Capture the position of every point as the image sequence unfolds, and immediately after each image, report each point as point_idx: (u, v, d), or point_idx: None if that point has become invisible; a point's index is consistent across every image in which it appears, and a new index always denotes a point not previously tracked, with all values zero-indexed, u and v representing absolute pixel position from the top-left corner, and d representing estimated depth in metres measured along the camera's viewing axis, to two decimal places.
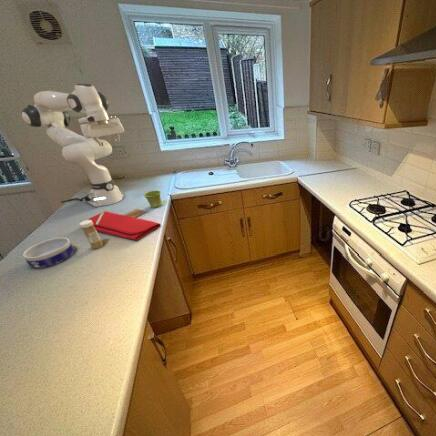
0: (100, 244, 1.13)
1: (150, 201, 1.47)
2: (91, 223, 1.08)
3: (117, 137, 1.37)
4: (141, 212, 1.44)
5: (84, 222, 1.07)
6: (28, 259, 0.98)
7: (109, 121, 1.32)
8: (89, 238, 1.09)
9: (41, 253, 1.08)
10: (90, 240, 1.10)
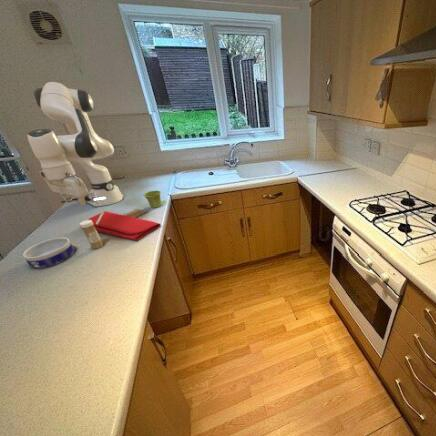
0: (100, 244, 1.13)
1: (150, 201, 1.47)
2: (91, 223, 1.08)
3: None
4: (141, 212, 1.44)
5: (84, 222, 1.07)
6: (28, 259, 0.98)
7: (63, 180, 0.95)
8: (89, 238, 1.09)
9: (41, 253, 1.08)
10: (90, 240, 1.10)
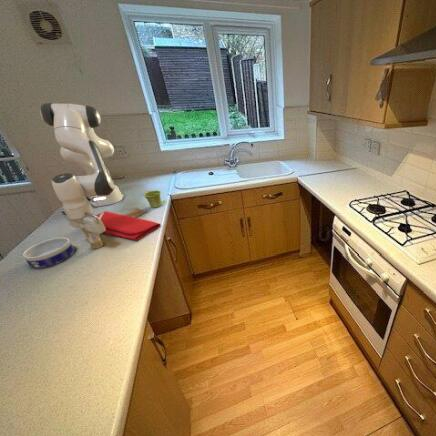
0: (100, 244, 1.13)
1: (150, 201, 1.47)
2: None
3: None
4: (141, 212, 1.44)
5: None
6: (28, 259, 0.98)
7: (83, 219, 1.03)
8: (89, 238, 1.09)
9: (41, 253, 1.08)
10: (90, 240, 1.10)
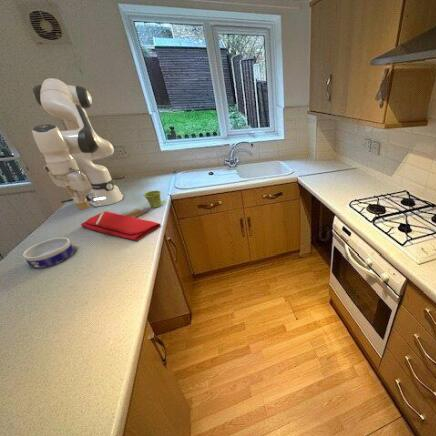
0: (86, 205, 1.07)
1: (150, 201, 1.47)
2: None
3: None
4: (141, 212, 1.44)
5: None
6: (28, 259, 0.98)
7: (67, 175, 0.97)
8: (74, 198, 1.03)
9: (41, 253, 1.08)
10: (75, 200, 1.03)
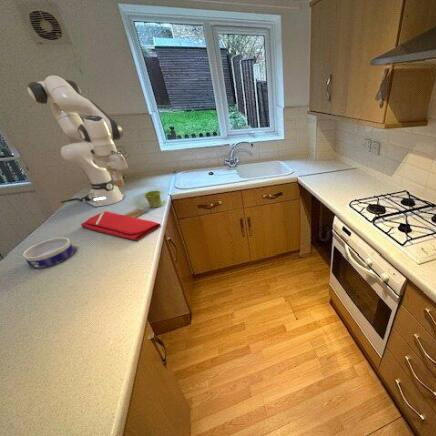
0: (122, 183, 1.31)
1: (150, 201, 1.47)
2: None
3: None
4: (141, 212, 1.44)
5: None
6: (28, 259, 0.98)
7: (109, 156, 1.21)
8: (113, 176, 1.27)
9: (41, 253, 1.08)
10: (114, 177, 1.27)
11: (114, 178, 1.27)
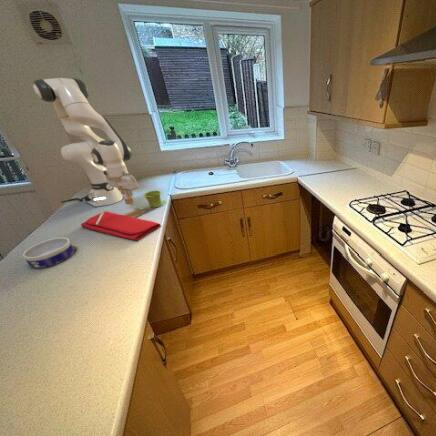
0: (132, 201, 1.38)
1: (150, 201, 1.47)
2: None
3: None
4: (141, 212, 1.44)
5: None
6: (28, 259, 0.98)
7: (121, 177, 1.29)
8: (124, 195, 1.35)
9: (41, 253, 1.08)
10: (125, 196, 1.35)
11: (125, 197, 1.35)
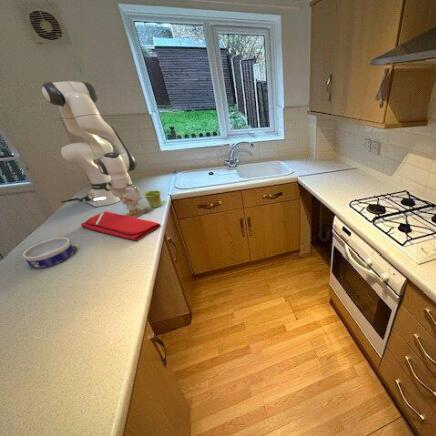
0: (136, 211, 1.42)
1: (150, 201, 1.47)
2: None
3: None
4: (141, 212, 1.44)
5: None
6: (28, 259, 0.98)
7: (125, 188, 1.32)
8: (129, 206, 1.38)
9: (41, 253, 1.08)
10: (129, 207, 1.38)
11: (129, 208, 1.39)
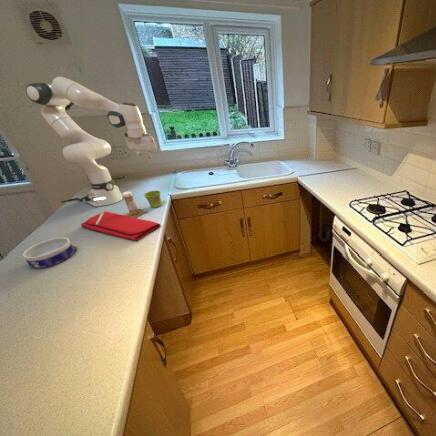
0: (136, 211, 1.42)
1: (150, 201, 1.47)
2: (131, 194, 1.37)
3: None
4: (141, 212, 1.44)
5: (125, 193, 1.36)
6: (28, 259, 0.98)
7: (141, 138, 1.38)
8: (129, 206, 1.38)
9: (41, 253, 1.08)
10: (129, 207, 1.38)
11: (129, 208, 1.39)
